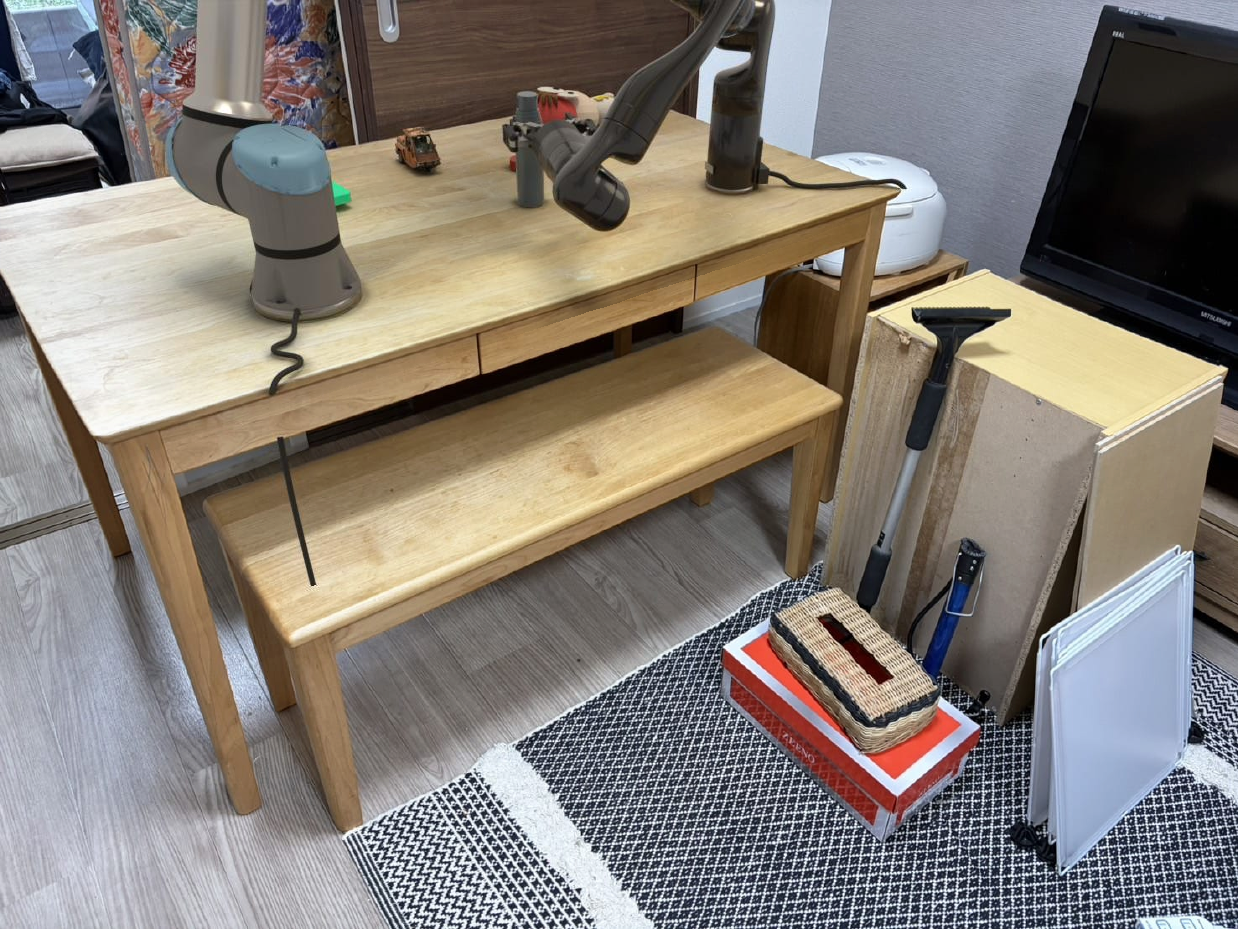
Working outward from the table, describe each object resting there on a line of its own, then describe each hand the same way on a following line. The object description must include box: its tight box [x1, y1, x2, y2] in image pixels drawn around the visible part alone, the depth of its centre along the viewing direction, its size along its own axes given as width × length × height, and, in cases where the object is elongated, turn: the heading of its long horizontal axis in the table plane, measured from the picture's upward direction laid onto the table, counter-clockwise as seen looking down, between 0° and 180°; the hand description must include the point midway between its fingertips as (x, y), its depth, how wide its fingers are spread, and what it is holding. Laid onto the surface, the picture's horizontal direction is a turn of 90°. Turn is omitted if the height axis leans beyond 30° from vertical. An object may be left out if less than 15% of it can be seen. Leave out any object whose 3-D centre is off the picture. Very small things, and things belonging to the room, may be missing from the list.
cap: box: [509, 154, 516, 172], centre depth 181 cm, size 5×5×2 cm
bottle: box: [514, 90, 545, 208], centre depth 161 cm, size 5×5×19 cm
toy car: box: [394, 126, 442, 174], centre depth 178 cm, size 6×12×7 cm, turn 39°
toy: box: [537, 86, 615, 134], centre depth 199 cm, size 18×10×30 cm
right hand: (541, 120), depth 148 cm, fingers open, 8 cm apart
